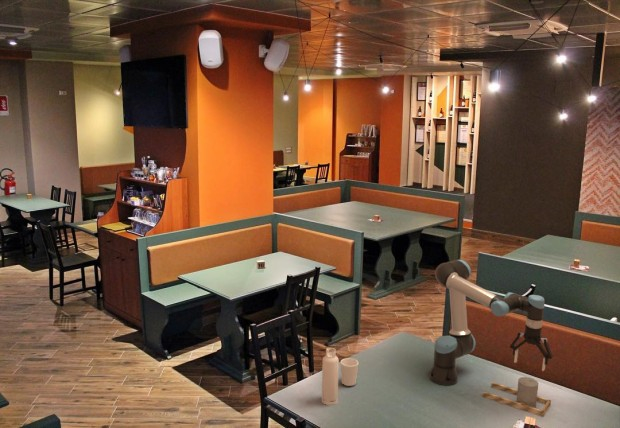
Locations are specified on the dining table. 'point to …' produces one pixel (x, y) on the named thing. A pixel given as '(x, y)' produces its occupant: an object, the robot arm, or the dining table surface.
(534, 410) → the beam frame
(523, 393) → the speckled beige cylinder
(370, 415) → the dining table surface
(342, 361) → the cup
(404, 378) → the dining table surface
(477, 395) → the dining table surface
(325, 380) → the bottle
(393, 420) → the dining table surface
